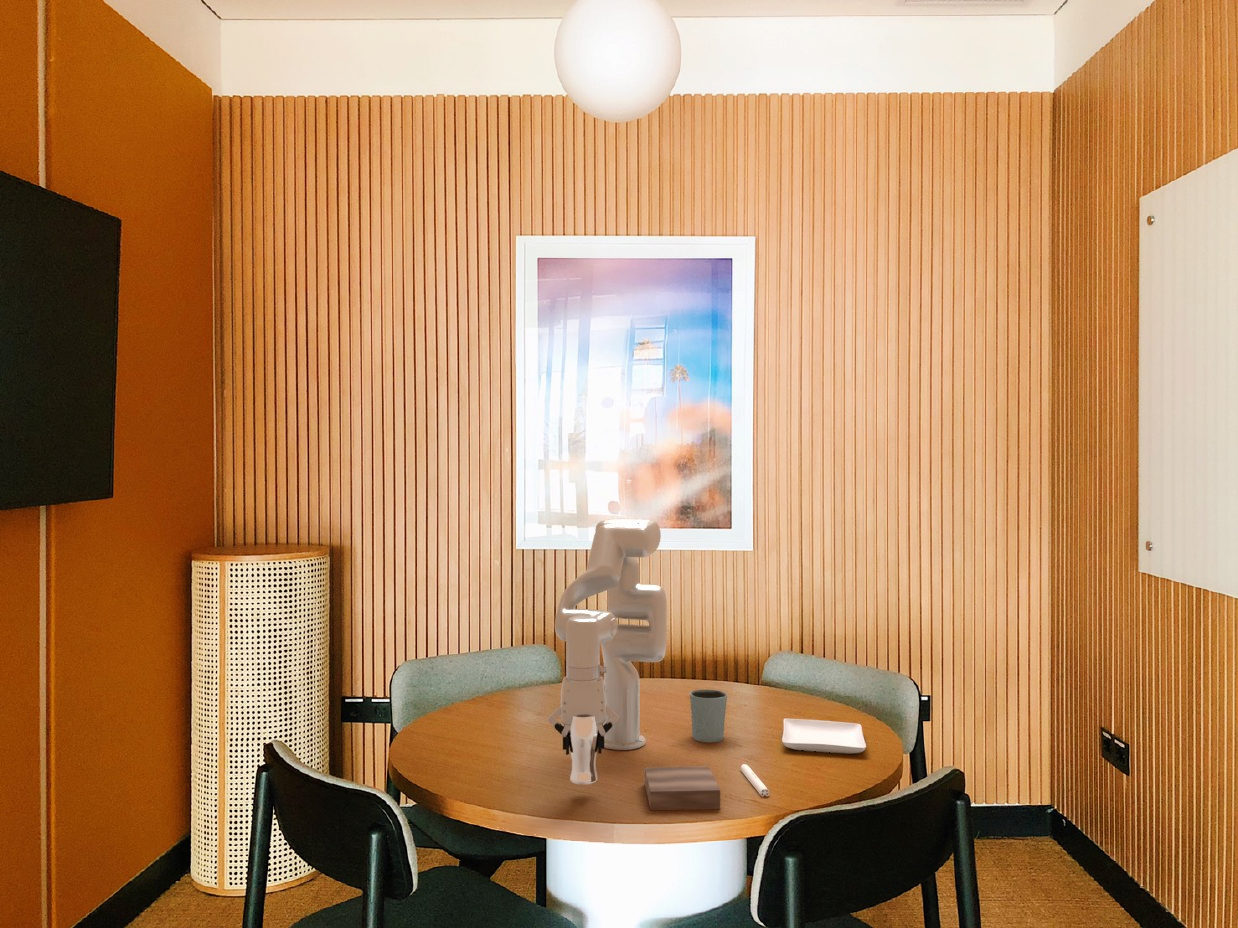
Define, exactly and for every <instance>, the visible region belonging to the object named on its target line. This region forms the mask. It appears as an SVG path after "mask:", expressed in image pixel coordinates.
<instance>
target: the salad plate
mask: <svg viewBox="0 0 1238 928" xmlns="http://www.w3.org/2000/svg"><path fill="white" fill-rule="evenodd" d="M782 721H783V732H782V736H781V737H782V738H781V741H782V742H781V743H782V744H783V745H784V746H785V747H786V748H788V749H791V750H796V751H801V750H804V751H805V752H814V751H816V752H817V753H829V752H830V754H831V753H833V754H846V755H847V754H848V755H849V754H859V753H862V752H864V751H865V750H866V748H867V744H866V740H865V737H864V733H863V727H862V724H860V723H855V722H844V721H831V720H822V719H821V720H818V719H805V718H804V719H803V718H800V719H799V718H783V720H782ZM804 751H803V752H804Z"/></svg>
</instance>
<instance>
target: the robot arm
mask: <svg viewBox="0 0 1238 928" xmlns="http://www.w3.org/2000/svg"><path fill="white" fill-rule="evenodd" d="M660 528H661V527H660V526H659V524H658V522H657V521H655V520H653V519H629V518H627V519H626V518H610V519H603V520H600V521H599V522H598V523H597V524H596V526H595V531H594V535H593V539H592V544H591V547H590V553H589V556H588V561H587V563H586V564H587V565H586V570H585V571H584V572H583V573H581V575H579V576H577V577H576V578H575V579H574V580H573V581H572V582H571V583H570V584H569V585H568V586H567V587H566V588H565V590H564V591H563V592H562V595H561V597H560V598H559V603H558V607H557V610H556V615H555V618H554V619H555V620H554V631H555V634H556V637H558V639H560V640H561V641H564V642H565V649H566V650H565V652H566V653H565V661H566V663H565V664H566V665H565V667H566V669H565V670H566V671H565V674H566V675H565V676H564V677H563V678H562V683H561V688H560V690H561V691H560V705H559V706H558V707H557V708H556V709H555V710H554V711H553V712H552V713H551V714H550V715H549V716H548V717H547V721H548V723H550V725H552V727H553V728H554V729H555V730H556V731H557V732H558V733H559V734H560V735H561V737H562V751H565V755H566V756H568V755H570V747H569V737H568V731H569V727H570V726H569V725H571V724H572V720H573V716H577V717H589V716H595V721H596V724H598V730H599V736H598V749H597V754H598V755H602V750H604V749H608V750H609V749H610V750H613V751H629V750H636V749H639V748H641V747H643V746H644V745H645V744H646V738H645V737H644V735H642V734H640V729H641V727H640V724H641V723H640V716H641V715H640V707H641V706H640V705H641V702H640V698H641V697H640V692H641V691H640V686H641V685H640V683H641V680H640V679H641V678H640V674H639V672H638V670H637V669H636V667H635V666H634V664H633V663H632V662H640V663H641V662H642V663H643V662H645V663H658V662H661V661H662V660H664V658H665V657H666V656H665V655H666V652H667V632H668V631H667V626H668V625H667V622H668V619H667V618H668V612H667V611H668V605H667V603H668V602H667V595H666V591H665V590H664V588H663V587H662V586H660V585H658V584H651V583H650V584H649V583H648V584H646V583H645V584H644V583H641V582H640V564H639V562H638V560H637V558H647V557H649V556H651V555H652V554H654V552H656V551H657V550H658V548H659V546H660V542H661V536H662V535H661V529H660ZM605 591H607V601H606V602H607V610H604V609H589V608H587V609H586V608H576V606H578V605H579V604H580V603H581V602H582V601H584V600H586V599H588V598H591V597H593V596H595V595H598V594H601V593H603V592H605ZM617 619H621V620H634V621H646V622H647V623H648V625H644V624H630V623H628V624H627V623H621V624H620V623H618V620H617ZM600 647H601V648H600ZM601 653H602V658H603V659H602V660H603V661H602V662H603V666H602V664H601ZM602 674H603V676H602ZM559 716H560V721H561V723H560V722H559V721H558V720H557V718H559Z"/></svg>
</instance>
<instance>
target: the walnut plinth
mask: <svg viewBox="0 0 1238 928" xmlns="http://www.w3.org/2000/svg"><path fill="white" fill-rule="evenodd" d="M644 787H646V788H645V792H646V797H647V796H648V797H647V800H649V801H648V805H649V808H650V811H675V810H676V811H678V810H679V811H685V810H720V809H721V789H720V787H719V785H718V783H717V780H716V778H715V776H714V774H713V772H712V770H711V768H710V766H709V765H708V766H707V765H706V766H701V765H700V766H654V767H653V766H652V767H651V766H649V767H648V766H646V767H644Z"/></svg>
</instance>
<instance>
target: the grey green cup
mask: <svg viewBox="0 0 1238 928" xmlns="http://www.w3.org/2000/svg"><path fill="white" fill-rule="evenodd" d="M689 700H690V701H689V702H690V711H691V712H690V713H691V716H690V717H691V718H690V719H691V734H692V736H691V737H692V739H693V740H695V741H697V742H700V743H717V742H718V743H719V742H721V741H723V740H724V736H725V732H724V731H725V721H726V720H725V719H726V713H727V711H726V710H727V707H726V706H727V701H728V694H727V693H726V692H724V691H721V690H717V689H697V690H695V689H694V690H692V691H690V692H689Z"/></svg>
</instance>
